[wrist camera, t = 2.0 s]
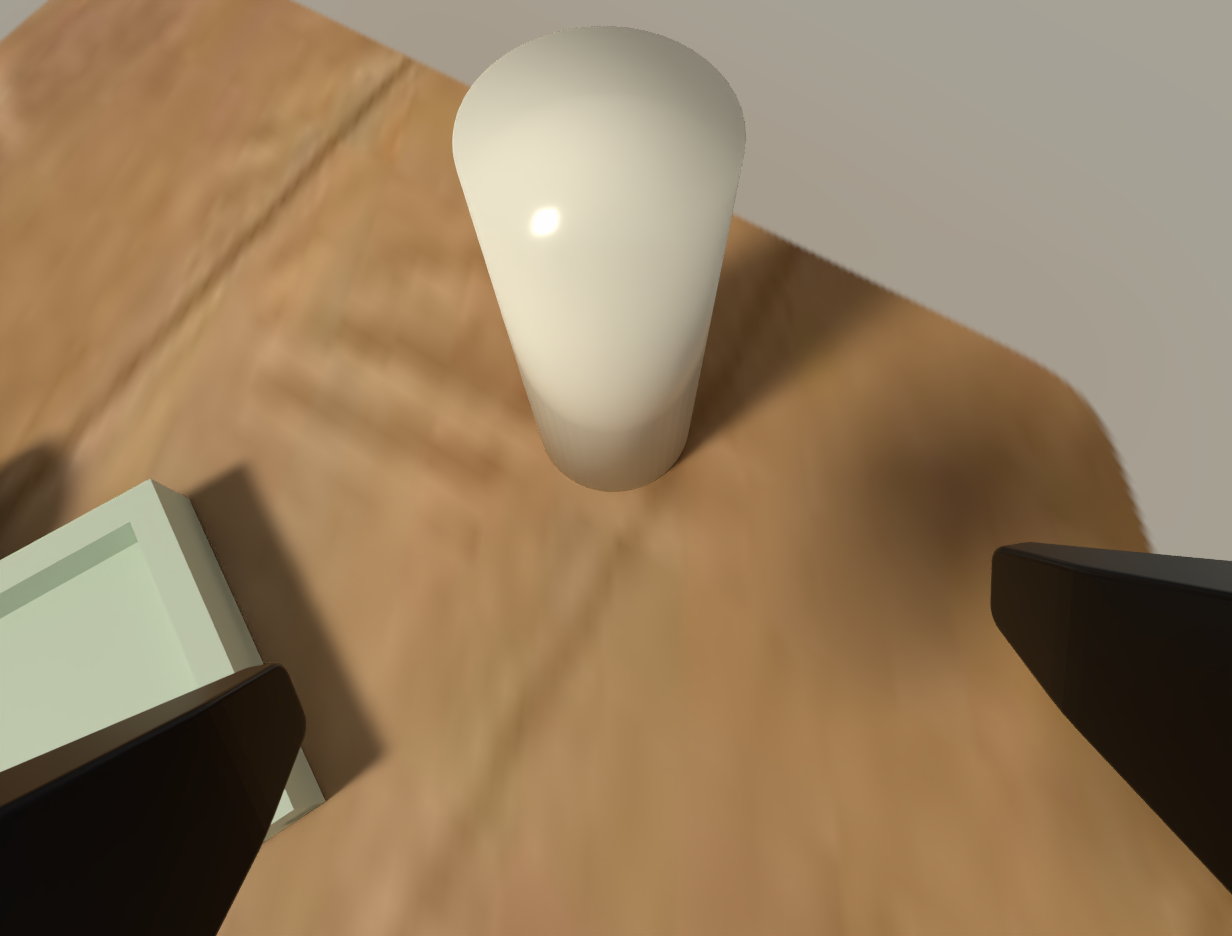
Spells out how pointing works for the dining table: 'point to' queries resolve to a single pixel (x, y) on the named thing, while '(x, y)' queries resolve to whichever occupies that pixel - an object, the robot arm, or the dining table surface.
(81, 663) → the tray
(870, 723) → the dining table surface
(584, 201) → the white rounded tapered cylinder
